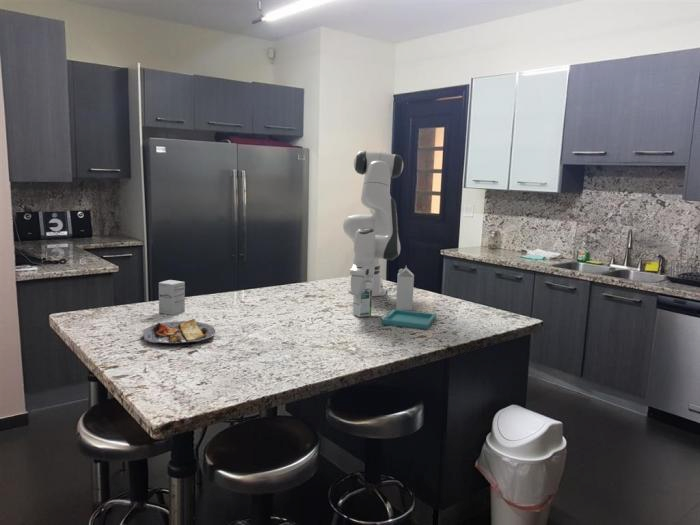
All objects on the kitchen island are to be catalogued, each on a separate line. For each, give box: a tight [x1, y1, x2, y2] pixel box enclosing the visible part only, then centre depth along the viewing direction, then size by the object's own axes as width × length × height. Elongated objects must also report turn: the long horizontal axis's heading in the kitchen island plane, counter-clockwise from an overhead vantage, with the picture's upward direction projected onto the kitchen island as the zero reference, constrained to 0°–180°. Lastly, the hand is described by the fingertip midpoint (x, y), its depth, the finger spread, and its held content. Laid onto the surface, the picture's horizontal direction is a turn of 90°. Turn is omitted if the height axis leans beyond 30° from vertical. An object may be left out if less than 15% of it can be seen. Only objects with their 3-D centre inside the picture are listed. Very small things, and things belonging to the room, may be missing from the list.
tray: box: [381, 308, 437, 331], centre depth 214 cm, size 18×18×2 cm
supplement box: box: [158, 279, 186, 316], centre depth 214 cm, size 7×7×13 cm
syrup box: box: [352, 281, 373, 318], centre depth 220 cm, size 6×6×14 cm
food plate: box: [142, 318, 216, 345], centre depth 185 cm, size 25×23×4 cm
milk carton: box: [395, 266, 415, 311], centre depth 234 cm, size 7×7×19 cm
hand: (362, 301), depth 220 cm, fingers closed on syrup box, 8 cm apart
